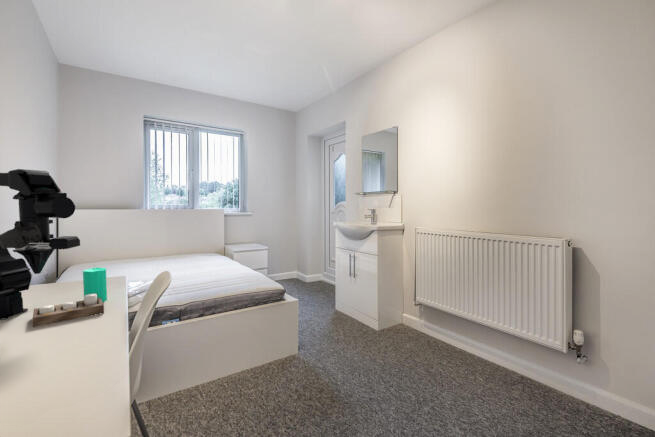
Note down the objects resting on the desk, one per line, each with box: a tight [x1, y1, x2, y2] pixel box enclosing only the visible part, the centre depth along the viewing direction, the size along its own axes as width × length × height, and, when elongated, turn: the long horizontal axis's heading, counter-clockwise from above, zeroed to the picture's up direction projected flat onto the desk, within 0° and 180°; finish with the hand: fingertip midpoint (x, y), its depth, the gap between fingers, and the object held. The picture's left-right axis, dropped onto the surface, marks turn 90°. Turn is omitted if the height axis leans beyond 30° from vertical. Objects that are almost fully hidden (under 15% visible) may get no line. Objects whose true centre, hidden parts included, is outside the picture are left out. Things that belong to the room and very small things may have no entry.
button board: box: [32, 298, 105, 328], centre depth 86 cm, size 15×8×3 cm, turn 132°
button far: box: [83, 294, 97, 306], centre depth 89 cm, size 3×3×3 cm
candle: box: [82, 264, 108, 303], centre depth 98 cm, size 6×6×12 cm
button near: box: [38, 304, 55, 314], centre depth 83 cm, size 3×3×3 cm
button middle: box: [62, 300, 77, 310], centre depth 86 cm, size 3×3×3 cm
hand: (37, 273), depth 82 cm, fingers closed
